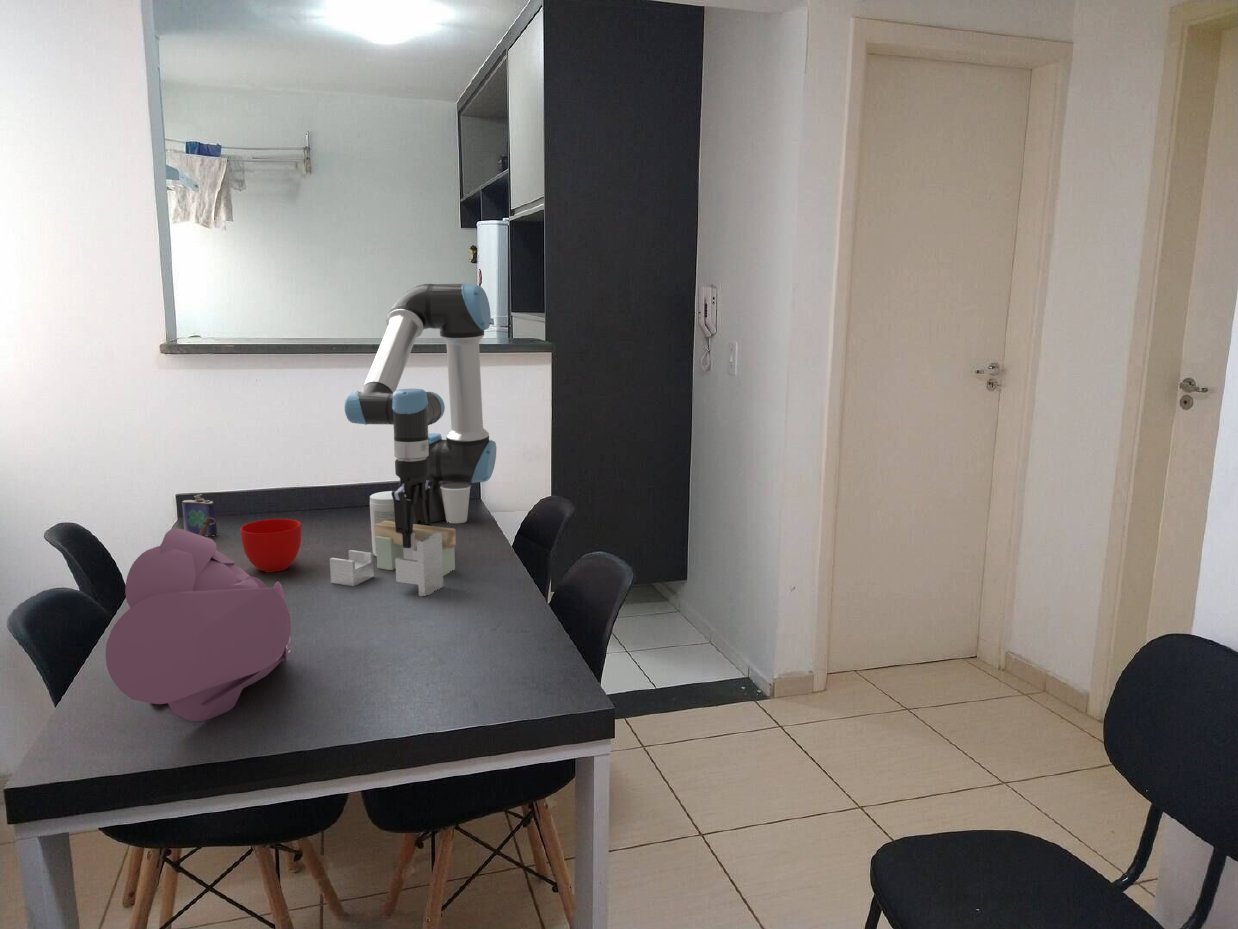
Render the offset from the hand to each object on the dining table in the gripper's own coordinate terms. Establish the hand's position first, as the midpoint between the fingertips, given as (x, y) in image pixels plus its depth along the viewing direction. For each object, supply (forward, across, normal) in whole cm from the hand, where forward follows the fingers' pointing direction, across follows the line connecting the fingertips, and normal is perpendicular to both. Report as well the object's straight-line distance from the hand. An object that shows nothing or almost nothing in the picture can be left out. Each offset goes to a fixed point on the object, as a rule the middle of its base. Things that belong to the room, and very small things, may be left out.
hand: (415, 557), depth 207 cm
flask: (+3, +3, +67) cm, 68 cm away
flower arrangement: (+3, -65, -5) cm, 65 cm away
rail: (-3, 0, 0) cm, 3 cm away
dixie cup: (+3, +41, +14) cm, 43 cm away
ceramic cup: (+3, -10, +31) cm, 33 cm away
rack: (+3, 0, 0) cm, 3 cm away
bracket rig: (+3, -12, 0) cm, 12 cm away
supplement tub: (+3, +8, +12) cm, 15 cm away
